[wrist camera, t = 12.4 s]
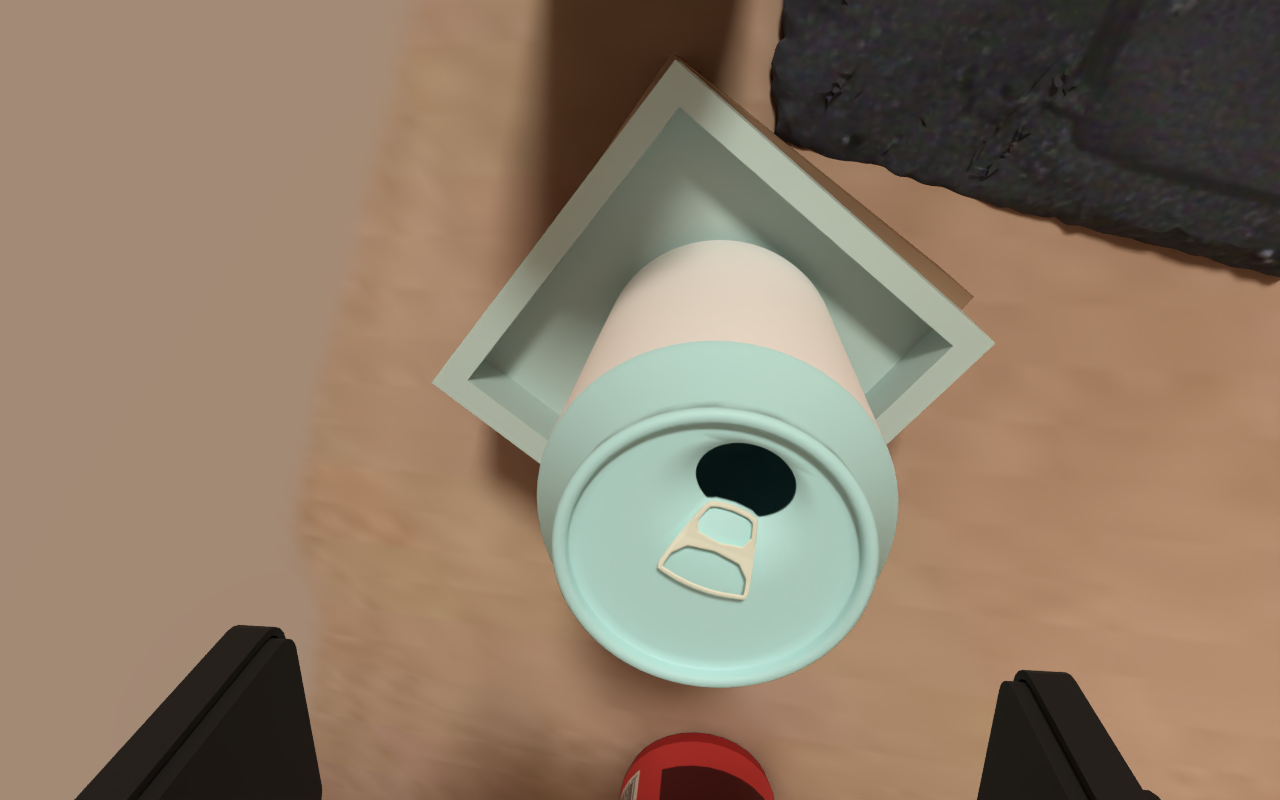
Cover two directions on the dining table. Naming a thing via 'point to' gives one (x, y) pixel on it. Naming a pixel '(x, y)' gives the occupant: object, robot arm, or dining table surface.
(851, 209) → the bottom block
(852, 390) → the can
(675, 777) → the canned food
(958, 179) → the dark slate chunk
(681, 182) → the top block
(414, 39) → the dining table surface
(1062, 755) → the robot arm
